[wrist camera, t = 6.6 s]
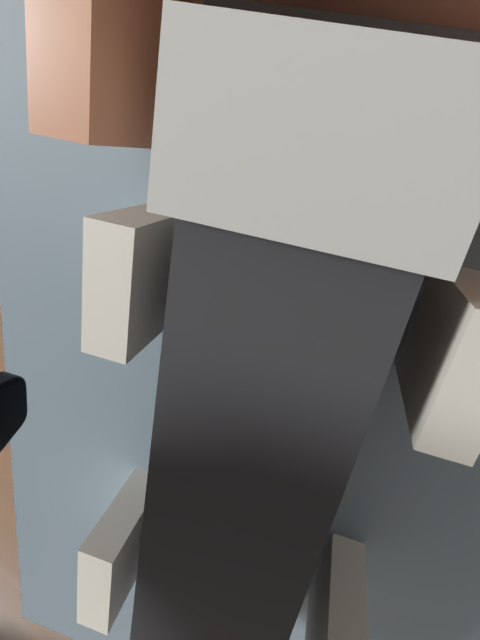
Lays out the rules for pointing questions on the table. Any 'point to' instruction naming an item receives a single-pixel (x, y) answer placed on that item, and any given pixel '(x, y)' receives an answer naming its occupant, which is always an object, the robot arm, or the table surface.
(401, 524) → the board
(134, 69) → the end holder
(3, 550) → the table surface
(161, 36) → the rod
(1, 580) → the table surface
